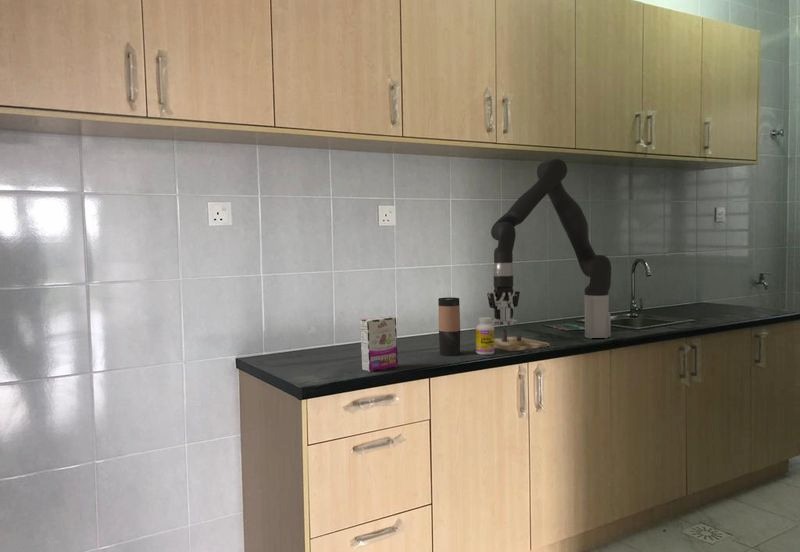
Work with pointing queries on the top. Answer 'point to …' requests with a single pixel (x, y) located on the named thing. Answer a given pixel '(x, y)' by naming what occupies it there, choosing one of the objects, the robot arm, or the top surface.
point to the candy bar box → (379, 343)
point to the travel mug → (449, 326)
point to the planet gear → (504, 317)
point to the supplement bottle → (484, 336)
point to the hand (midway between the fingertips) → (503, 318)
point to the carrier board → (514, 348)
